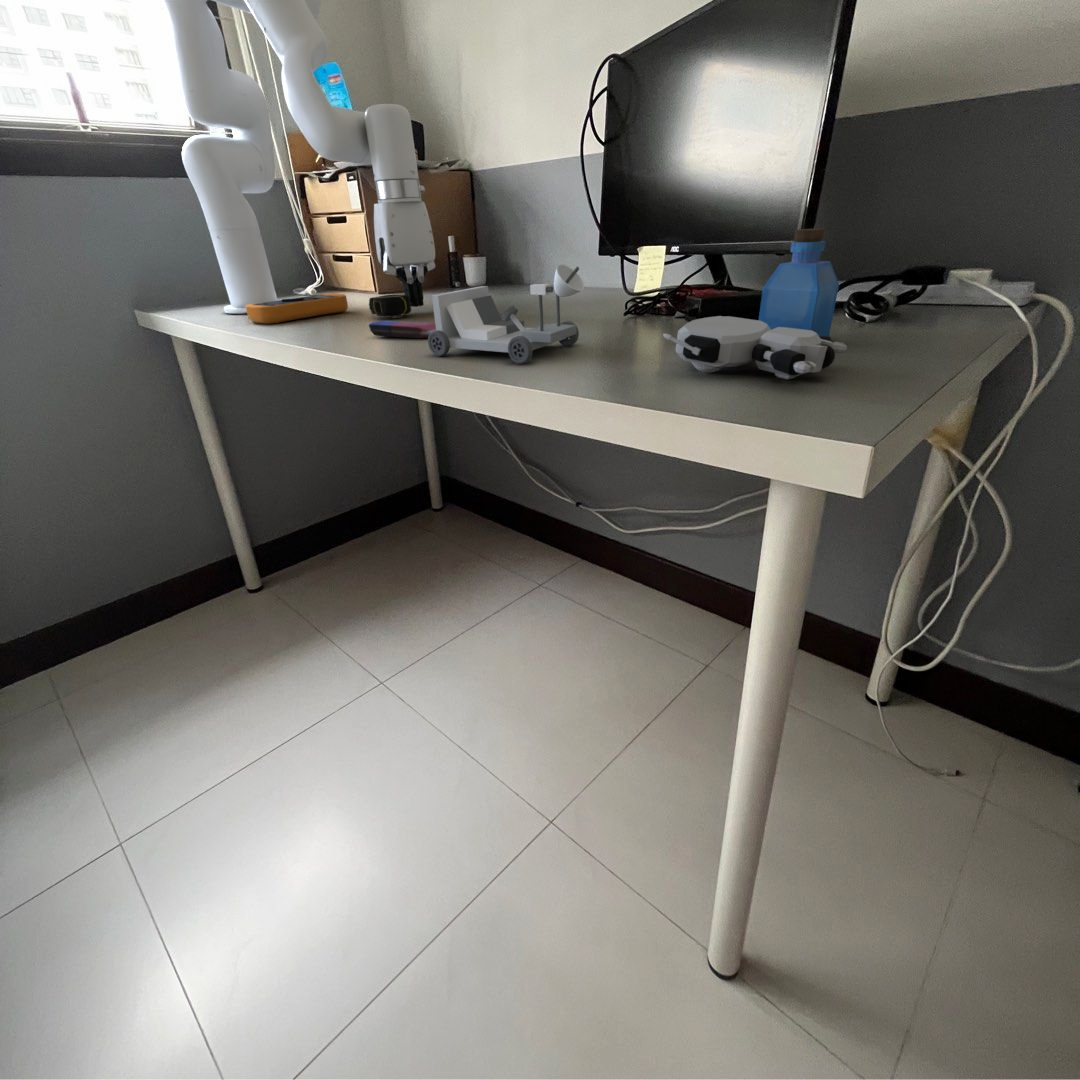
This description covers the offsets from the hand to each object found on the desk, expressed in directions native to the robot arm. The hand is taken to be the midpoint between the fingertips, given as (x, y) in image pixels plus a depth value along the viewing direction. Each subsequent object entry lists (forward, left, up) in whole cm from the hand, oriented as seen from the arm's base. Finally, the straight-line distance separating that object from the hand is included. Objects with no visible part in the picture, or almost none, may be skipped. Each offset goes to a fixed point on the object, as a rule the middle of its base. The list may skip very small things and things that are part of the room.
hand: (415, 305), depth 108 cm
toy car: (+44, -15, -2) cm, 46 cm away
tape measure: (0, -6, -2) cm, 6 cm away
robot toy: (+73, -9, -2) cm, 73 cm away
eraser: (+21, -16, -2) cm, 26 cm away
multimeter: (-18, -15, -1) cm, 24 cm away
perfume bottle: (+70, +7, -2) cm, 70 cm away
